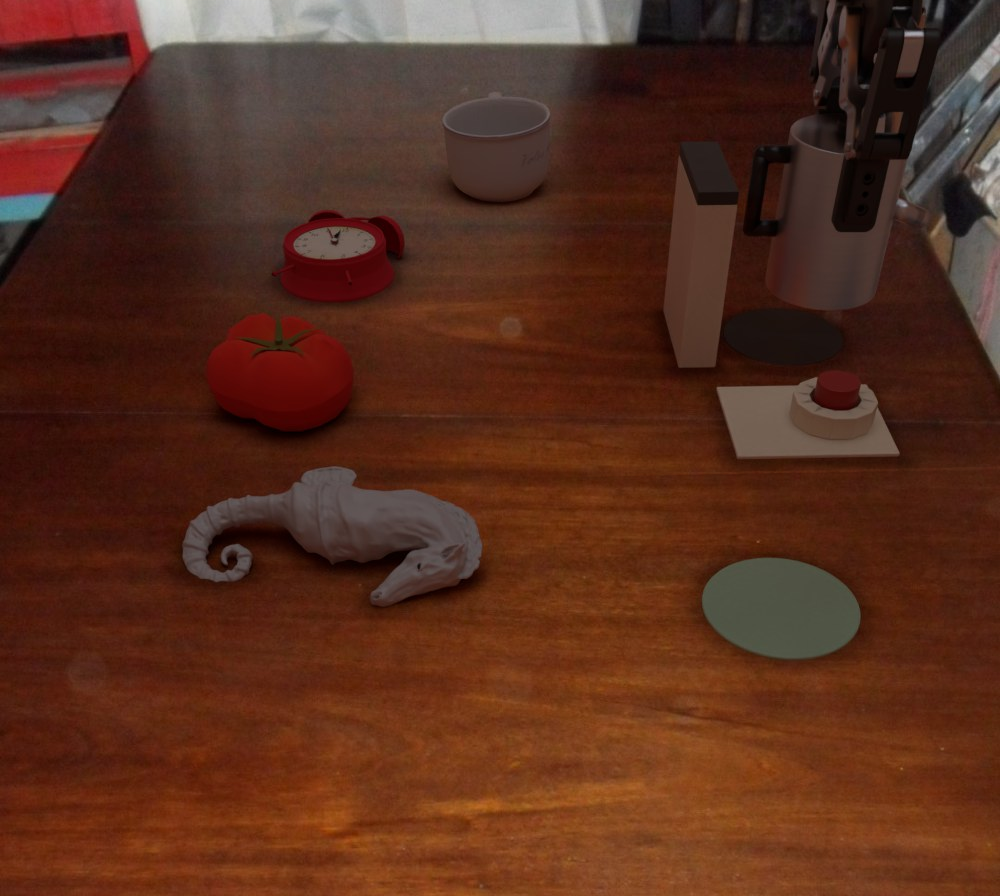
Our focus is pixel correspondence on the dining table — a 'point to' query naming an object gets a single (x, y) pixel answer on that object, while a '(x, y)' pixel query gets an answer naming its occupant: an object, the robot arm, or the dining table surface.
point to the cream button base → (802, 424)
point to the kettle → (821, 219)
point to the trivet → (781, 609)
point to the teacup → (498, 146)
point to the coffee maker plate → (783, 337)
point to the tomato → (281, 373)
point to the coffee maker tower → (699, 252)
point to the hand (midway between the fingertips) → (837, 202)
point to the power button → (837, 390)
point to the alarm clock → (340, 257)
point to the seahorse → (349, 532)
